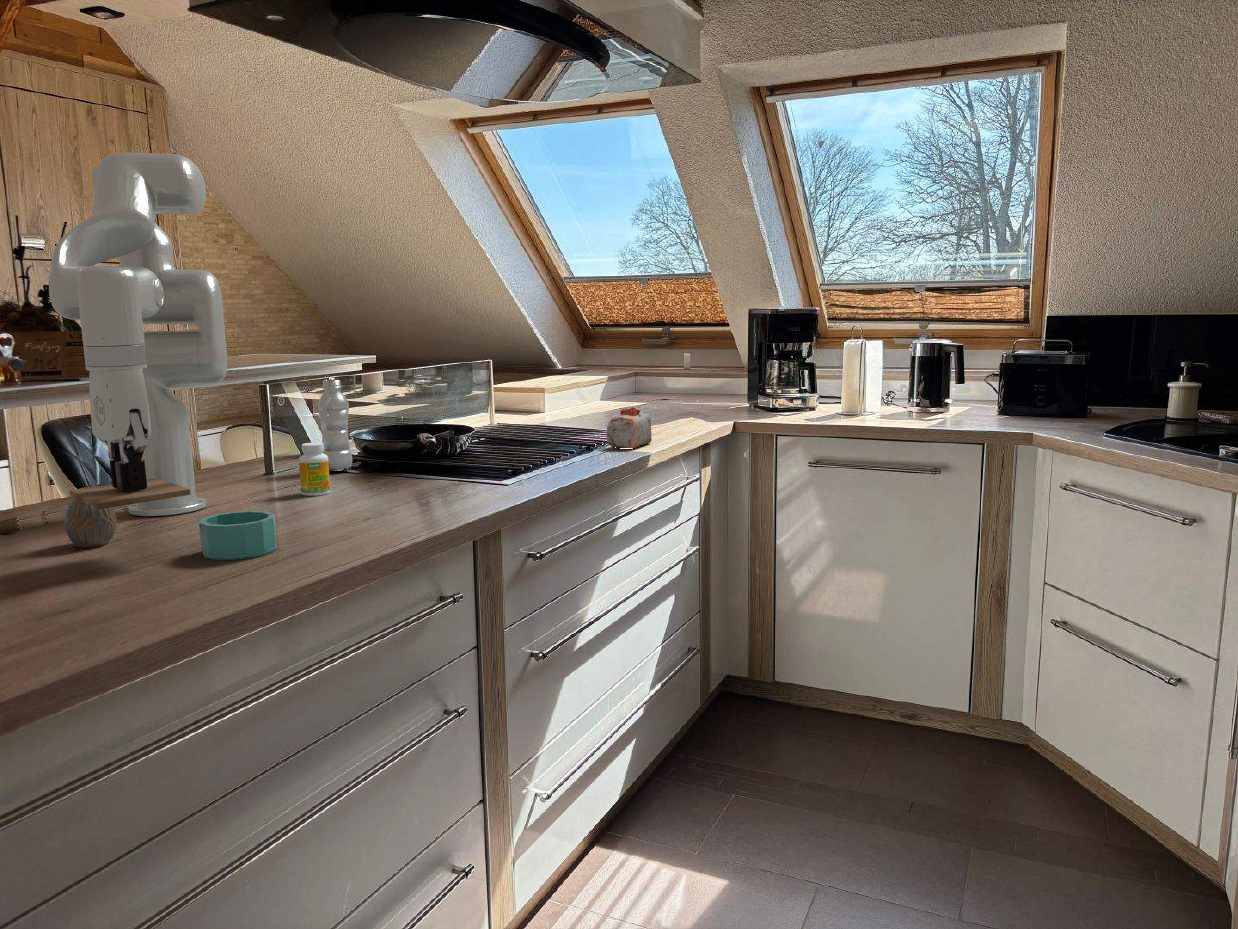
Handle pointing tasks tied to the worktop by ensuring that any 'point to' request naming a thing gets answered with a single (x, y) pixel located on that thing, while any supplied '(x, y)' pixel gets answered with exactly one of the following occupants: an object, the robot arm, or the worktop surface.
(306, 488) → the supplement bottle
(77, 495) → the lid
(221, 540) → the bowl
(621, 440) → the food item
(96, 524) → the vase
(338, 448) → the plastic bottle
